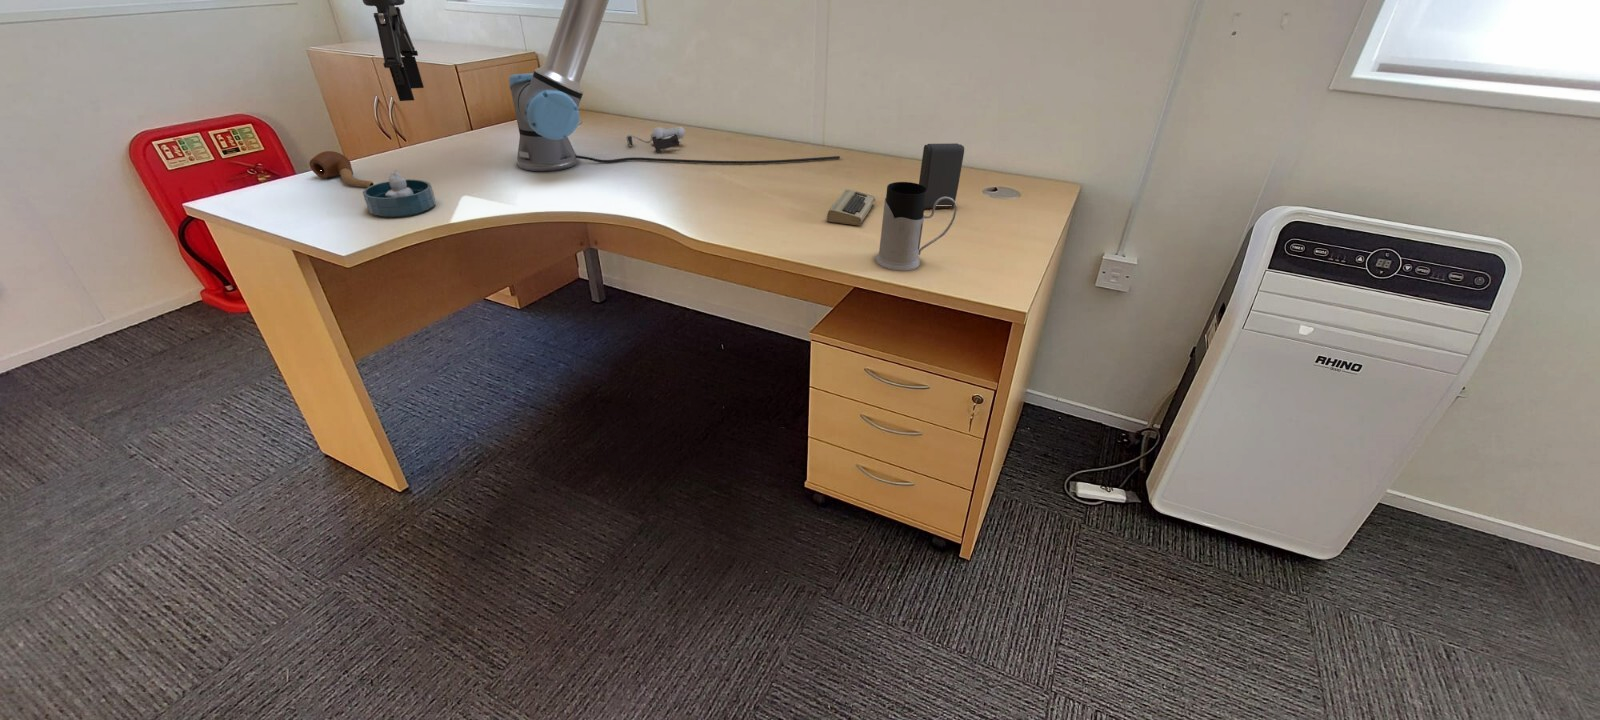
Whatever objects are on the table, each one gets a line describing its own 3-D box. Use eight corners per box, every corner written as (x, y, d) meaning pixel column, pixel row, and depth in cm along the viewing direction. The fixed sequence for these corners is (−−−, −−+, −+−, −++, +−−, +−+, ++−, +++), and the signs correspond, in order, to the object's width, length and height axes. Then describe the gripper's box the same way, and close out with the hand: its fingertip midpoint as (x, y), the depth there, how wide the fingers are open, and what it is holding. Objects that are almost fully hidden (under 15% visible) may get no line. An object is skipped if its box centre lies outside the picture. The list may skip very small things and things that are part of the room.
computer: (861, 226, 144) (862, 212, 142) (826, 222, 146) (827, 208, 144) (874, 205, 157) (876, 191, 155) (842, 200, 159) (843, 187, 157)
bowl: (440, 196, 151) (435, 178, 149) (430, 216, 140) (425, 196, 138) (377, 200, 148) (371, 181, 145) (362, 220, 137) (355, 200, 135)
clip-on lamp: (623, 160, 191) (680, 151, 187) (615, 139, 187) (673, 129, 183) (635, 146, 200) (689, 137, 196) (628, 126, 196) (683, 116, 193)
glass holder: (875, 251, 133) (883, 179, 125) (944, 256, 132) (957, 184, 124) (876, 268, 125) (884, 193, 117) (949, 274, 125) (962, 198, 116)
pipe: (341, 170, 165) (332, 146, 162) (392, 182, 158) (384, 158, 155) (312, 178, 159) (302, 153, 156) (364, 190, 153) (355, 165, 149)
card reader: (950, 203, 159) (960, 142, 151) (956, 209, 156) (966, 146, 148) (914, 204, 158) (923, 142, 150) (920, 210, 155) (929, 146, 146)
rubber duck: (423, 202, 146) (413, 167, 142) (402, 211, 140) (390, 175, 136) (403, 199, 147) (392, 164, 142) (381, 209, 141) (369, 173, 137)
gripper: (370, -21, 139) (403, 84, 151) (341, -13, 119) (382, 107, 131) (409, -21, 141) (438, 82, 153) (387, -14, 121) (422, 105, 133)
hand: (412, 94), depth 142 cm, fingers open, 13 cm apart
